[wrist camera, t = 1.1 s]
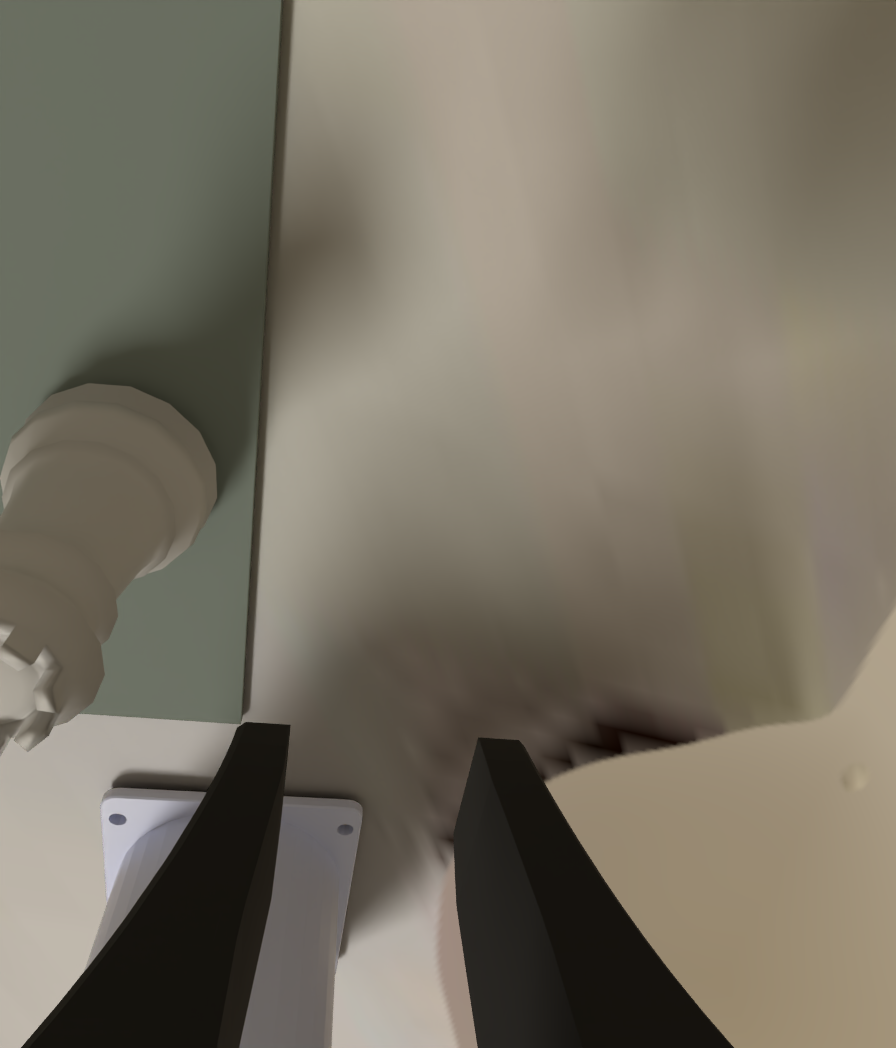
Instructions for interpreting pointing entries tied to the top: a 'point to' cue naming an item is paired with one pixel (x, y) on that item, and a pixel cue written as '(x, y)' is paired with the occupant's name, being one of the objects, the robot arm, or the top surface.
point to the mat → (147, 283)
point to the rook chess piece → (86, 539)
